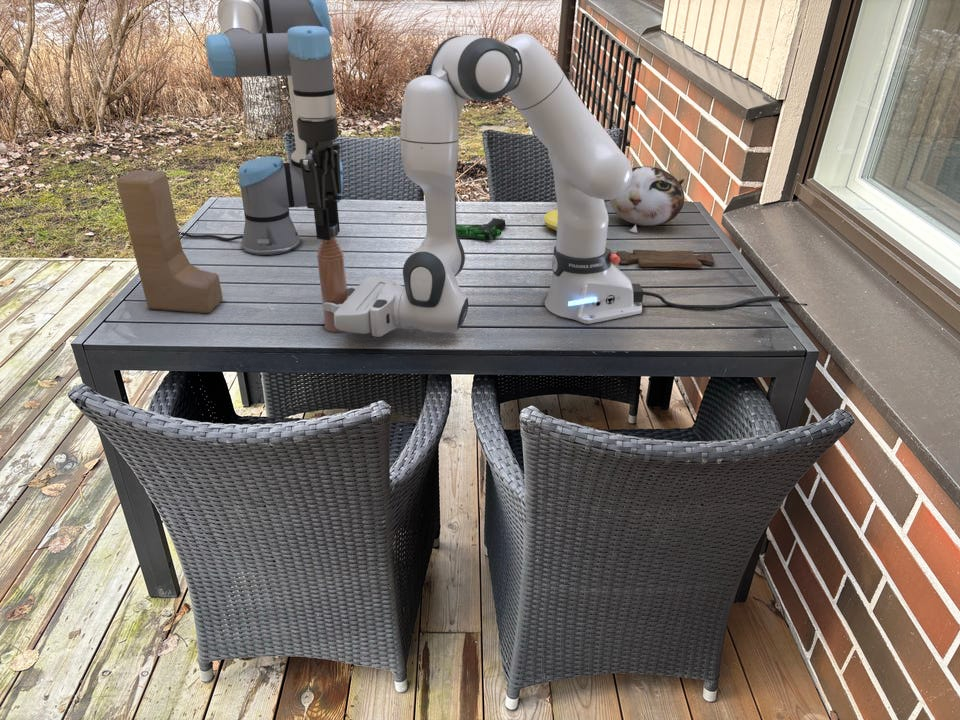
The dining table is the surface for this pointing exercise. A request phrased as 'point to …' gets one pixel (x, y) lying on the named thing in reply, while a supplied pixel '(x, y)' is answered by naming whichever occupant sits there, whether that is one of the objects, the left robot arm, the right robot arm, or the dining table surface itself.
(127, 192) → the decorative block
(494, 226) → the handgun
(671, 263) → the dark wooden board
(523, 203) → the dining table surface
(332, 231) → the cap
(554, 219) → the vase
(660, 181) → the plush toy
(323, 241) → the bottle
